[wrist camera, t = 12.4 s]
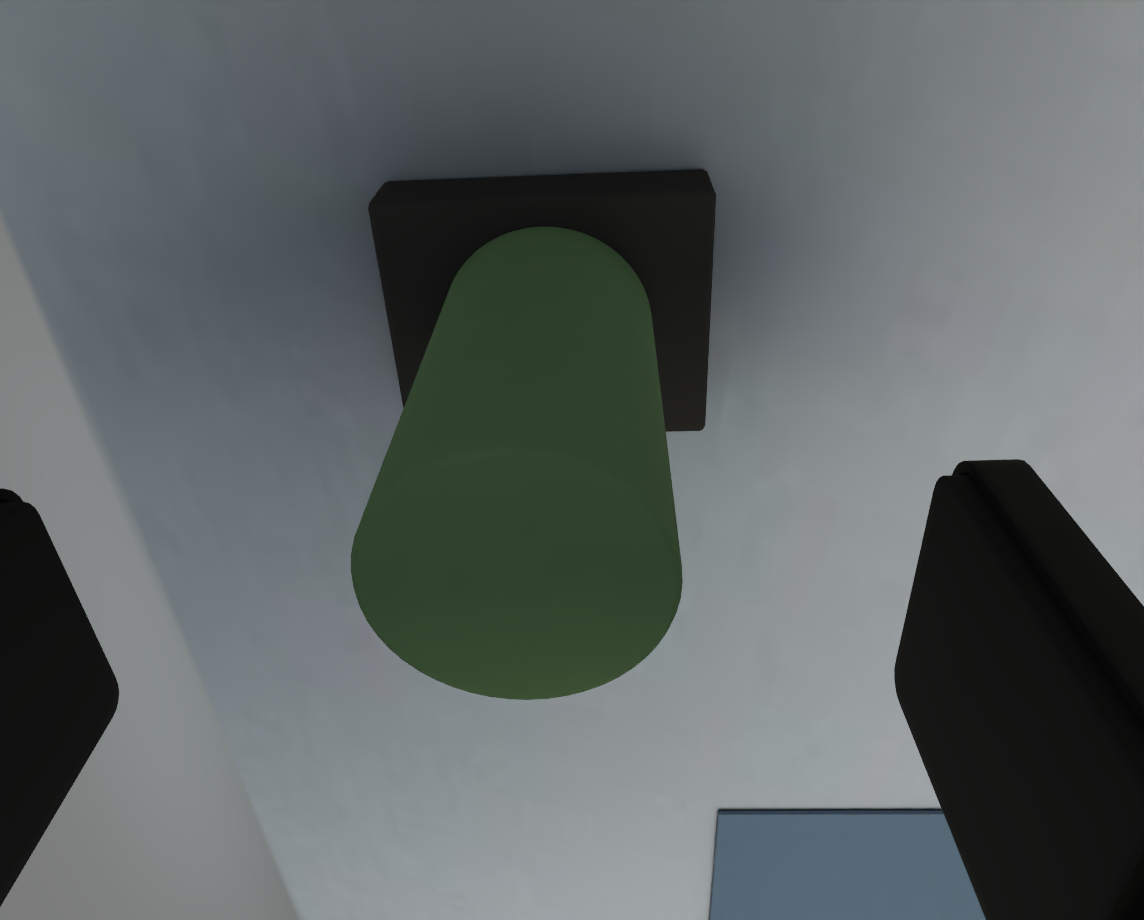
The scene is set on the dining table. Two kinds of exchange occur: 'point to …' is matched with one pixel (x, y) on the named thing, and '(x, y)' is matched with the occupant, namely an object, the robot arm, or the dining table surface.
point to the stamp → (535, 423)
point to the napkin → (839, 867)
